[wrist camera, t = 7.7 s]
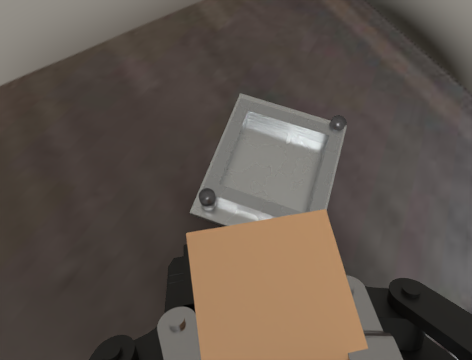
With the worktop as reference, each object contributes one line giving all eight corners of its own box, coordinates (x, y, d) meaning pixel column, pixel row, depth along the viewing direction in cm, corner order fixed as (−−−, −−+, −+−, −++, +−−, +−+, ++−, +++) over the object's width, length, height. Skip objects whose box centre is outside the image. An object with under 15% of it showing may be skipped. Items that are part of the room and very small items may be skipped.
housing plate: (312, 258, 22) (322, 253, 19) (190, 215, 23) (186, 206, 20) (343, 130, 26) (355, 113, 24) (239, 98, 27) (241, 79, 25)
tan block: (286, 324, 16) (375, 370, 7) (216, 339, 16) (207, 410, 6) (271, 253, 17) (325, 208, 8) (206, 265, 17) (185, 233, 8)
